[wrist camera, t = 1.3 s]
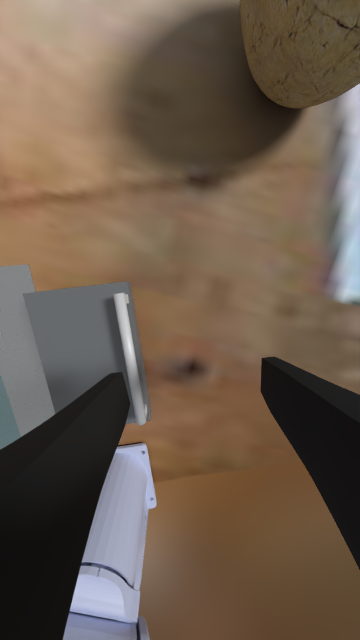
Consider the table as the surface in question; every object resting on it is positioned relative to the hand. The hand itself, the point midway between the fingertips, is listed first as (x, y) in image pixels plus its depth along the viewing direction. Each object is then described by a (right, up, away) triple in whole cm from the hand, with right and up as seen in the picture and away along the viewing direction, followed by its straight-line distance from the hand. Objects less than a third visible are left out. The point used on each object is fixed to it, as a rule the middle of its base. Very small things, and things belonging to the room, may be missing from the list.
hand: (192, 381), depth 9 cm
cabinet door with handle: (-9, 0, +10) cm, 14 cm away
